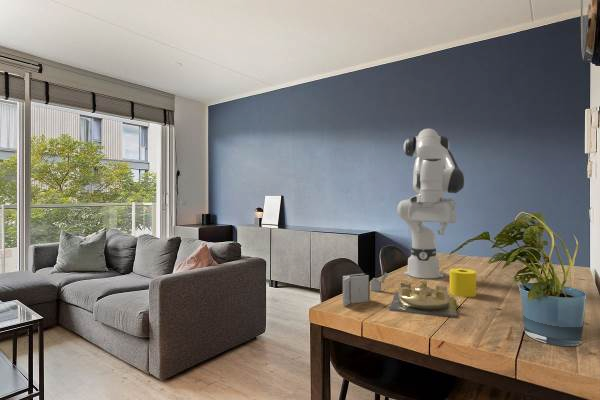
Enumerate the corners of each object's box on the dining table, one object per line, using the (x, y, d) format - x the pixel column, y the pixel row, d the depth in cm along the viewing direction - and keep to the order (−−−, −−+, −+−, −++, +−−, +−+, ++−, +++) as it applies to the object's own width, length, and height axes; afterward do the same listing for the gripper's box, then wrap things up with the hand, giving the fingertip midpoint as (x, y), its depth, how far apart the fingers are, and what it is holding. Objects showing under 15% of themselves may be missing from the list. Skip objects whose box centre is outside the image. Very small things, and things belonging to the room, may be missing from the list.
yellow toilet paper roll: (479, 297, 138) (479, 274, 138) (452, 296, 140) (452, 273, 140) (472, 290, 148) (472, 268, 148) (447, 289, 150) (447, 268, 150)
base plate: (395, 293, 144) (395, 291, 144) (453, 299, 136) (453, 296, 136) (389, 310, 124) (389, 307, 124) (457, 317, 116) (457, 315, 116)
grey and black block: (344, 307, 128) (344, 279, 127) (335, 303, 132) (334, 277, 132) (371, 300, 135) (371, 274, 135) (361, 297, 140) (361, 272, 140)
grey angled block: (370, 290, 149) (370, 272, 149) (371, 289, 151) (371, 271, 151) (387, 292, 147) (387, 273, 146) (388, 291, 148) (388, 272, 148)
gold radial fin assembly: (400, 293, 142) (400, 279, 142) (448, 297, 135) (448, 282, 135) (396, 306, 125) (396, 290, 125) (450, 312, 118) (450, 295, 118)
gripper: (460, 198, 130) (459, 235, 129) (416, 199, 147) (415, 232, 147) (449, 197, 126) (448, 235, 126) (406, 198, 144) (405, 232, 143)
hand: (430, 233), depth 136 cm, fingers open, 8 cm apart
